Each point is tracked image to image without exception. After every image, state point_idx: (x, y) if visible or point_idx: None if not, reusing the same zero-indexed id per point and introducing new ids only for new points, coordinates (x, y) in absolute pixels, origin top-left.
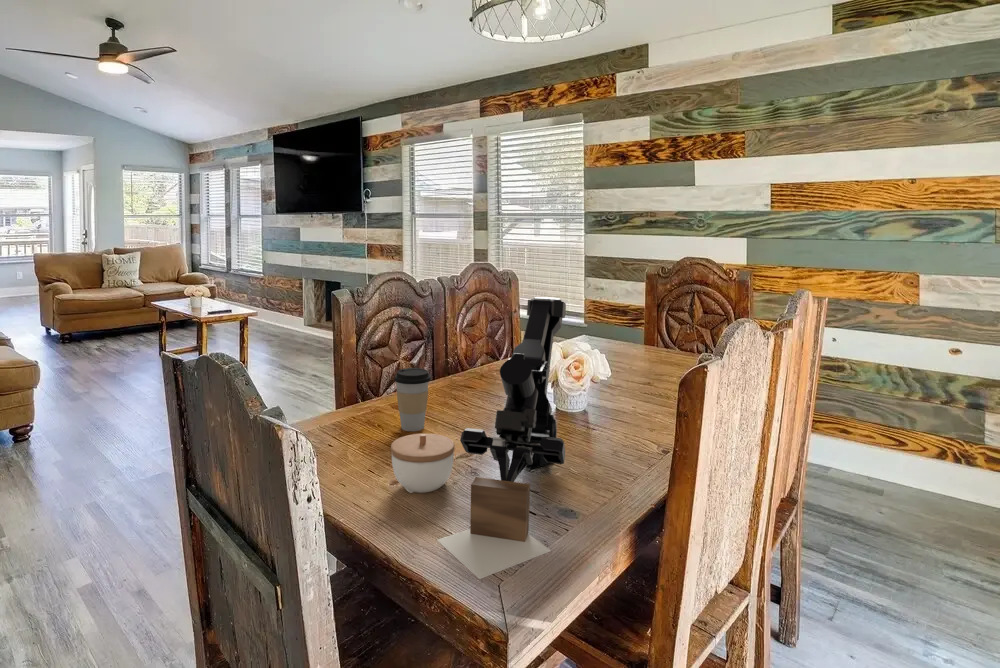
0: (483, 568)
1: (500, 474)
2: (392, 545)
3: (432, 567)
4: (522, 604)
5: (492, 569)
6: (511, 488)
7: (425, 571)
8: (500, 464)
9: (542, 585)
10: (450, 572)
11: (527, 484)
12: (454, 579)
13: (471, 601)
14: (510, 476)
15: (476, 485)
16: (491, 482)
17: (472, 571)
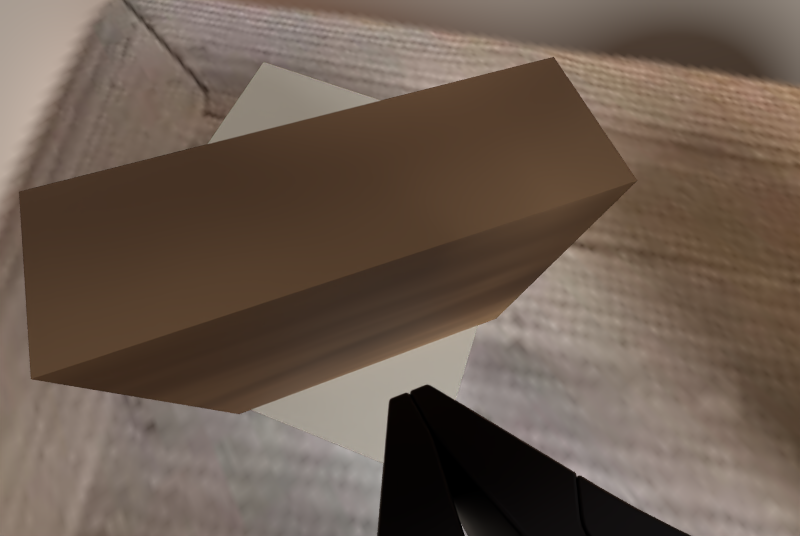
0: (281, 104)
1: (526, 443)
2: (620, 83)
3: (435, 63)
4: (100, 59)
5: (250, 114)
6: (200, 168)
7: (437, 42)
8: (639, 530)
9: (64, 154)
10: (373, 70)
11: (60, 344)
12: (341, 53)
13: (243, 11)
14: (401, 488)
15: (508, 68)
16: (440, 165)
17: (304, 78)
